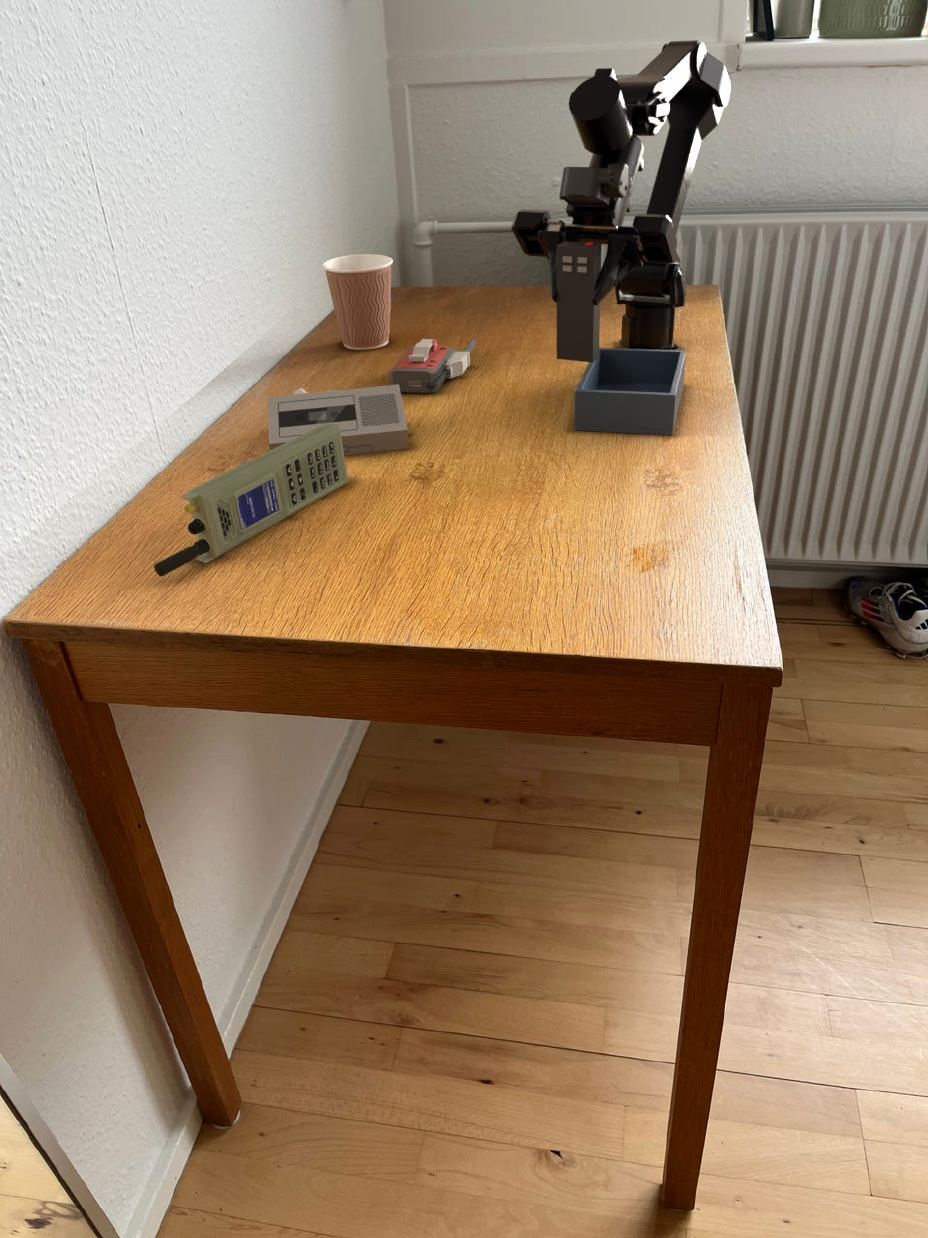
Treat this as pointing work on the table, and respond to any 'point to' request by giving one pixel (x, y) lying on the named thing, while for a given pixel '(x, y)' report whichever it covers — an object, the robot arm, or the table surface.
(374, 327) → the coffee cup
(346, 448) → the cassette player
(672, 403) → the tote
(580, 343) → the block
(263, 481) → the handheld radio
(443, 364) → the walkie-talkie
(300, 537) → the table surface
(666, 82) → the robot arm
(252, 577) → the table surface
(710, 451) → the table surface
